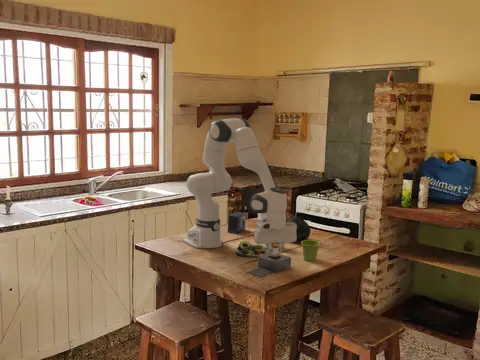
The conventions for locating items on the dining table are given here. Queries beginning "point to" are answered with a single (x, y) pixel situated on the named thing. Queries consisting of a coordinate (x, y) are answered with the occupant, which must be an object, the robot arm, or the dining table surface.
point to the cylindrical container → (275, 250)
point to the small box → (236, 222)
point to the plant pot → (310, 249)
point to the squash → (301, 228)
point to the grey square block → (274, 263)
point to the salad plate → (251, 249)
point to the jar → (262, 216)
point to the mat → (259, 272)
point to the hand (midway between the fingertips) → (274, 251)
